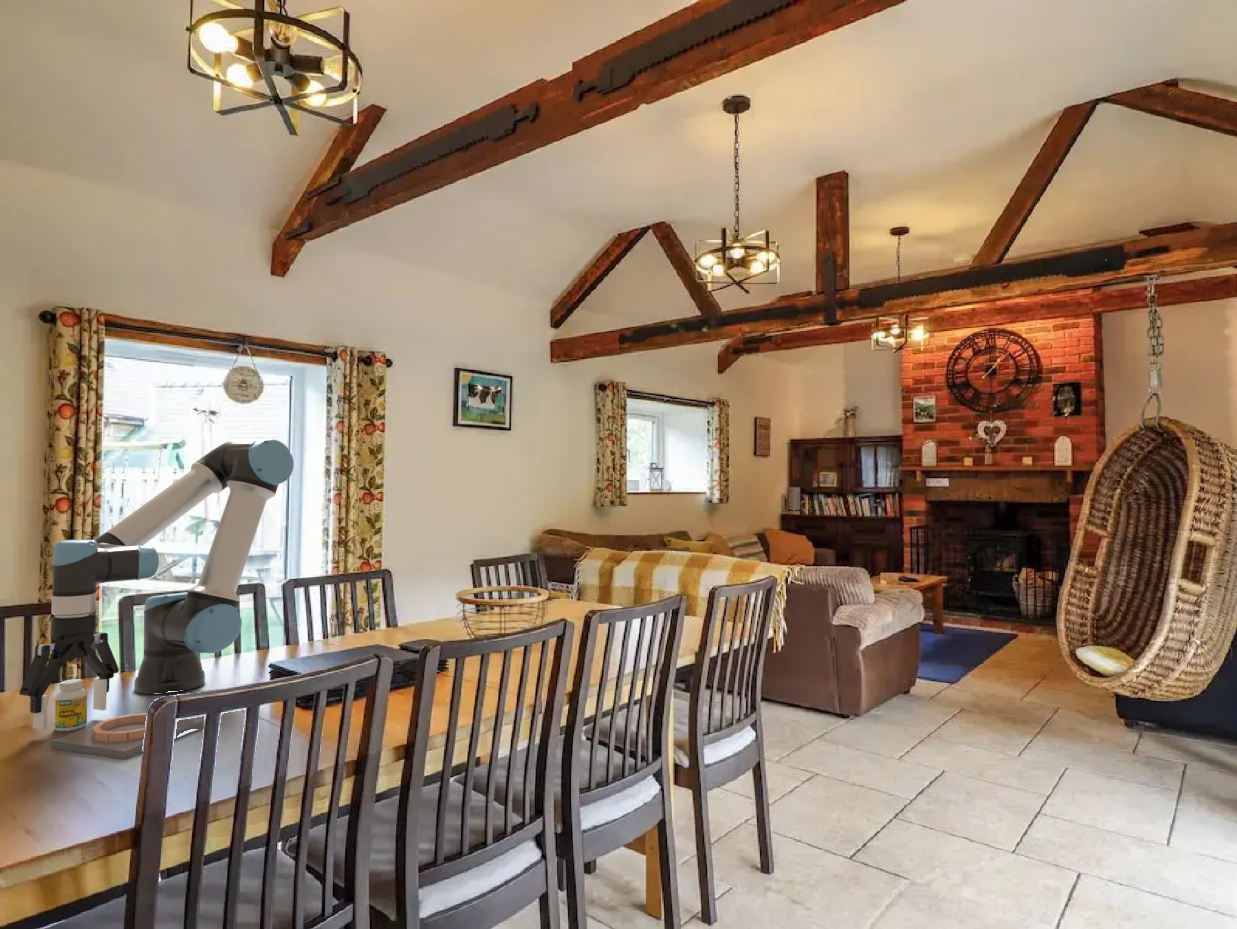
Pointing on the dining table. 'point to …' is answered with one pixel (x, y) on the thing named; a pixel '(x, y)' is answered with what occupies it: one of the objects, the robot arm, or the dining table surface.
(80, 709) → the supplement bottle
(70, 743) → the coaster stand
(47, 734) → the dining table surface
